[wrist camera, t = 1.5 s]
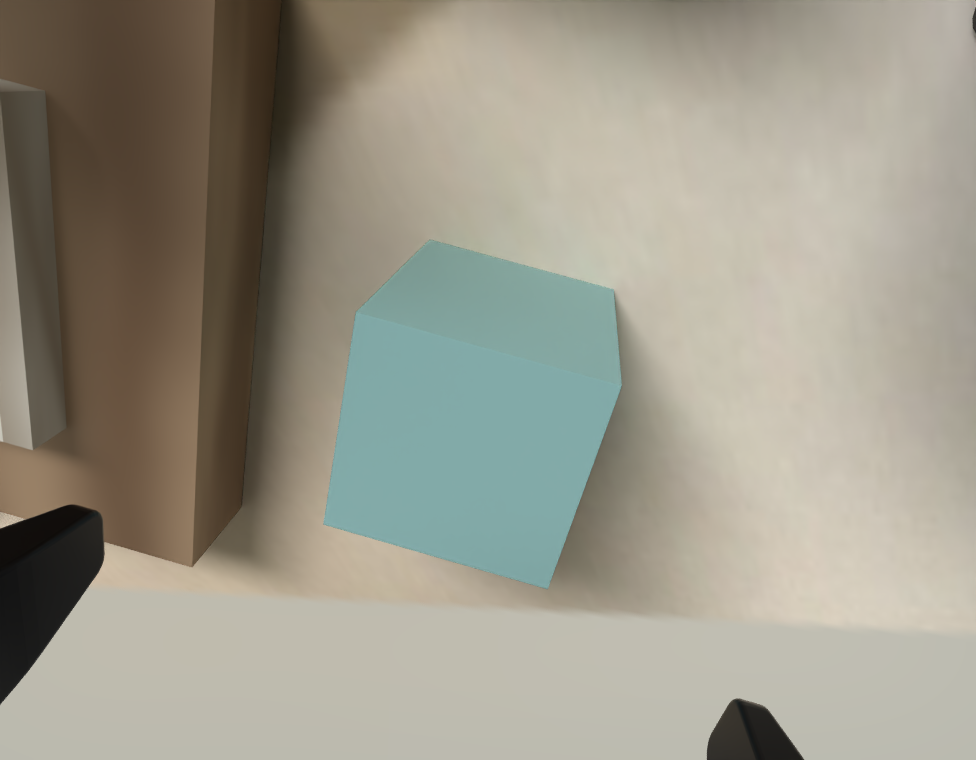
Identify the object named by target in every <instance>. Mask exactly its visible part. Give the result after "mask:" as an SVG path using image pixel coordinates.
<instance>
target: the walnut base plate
mask: <svg viewBox="0 0 976 760" xmlns="http://www.w3.org/2000/svg"><path fill="white" fill-rule="evenodd" d="M281 2H282V0H0V512H4V513H7V514H11V515H14V516H17V517H21V518H24V519H28V518H31V517H34V516H37V515H40V514H42V513H45V512H48V511H51V510H54V509H56V508H59V507H62V506H65V505H70V504H76V505H80V506H83V507H86V508H90V509H93V510H97V511H98V512H100V514H101V515H102V517H103V528H104V542H107V543H110V544H114V545H117V546H121V547H124V548H127V549H131V550H134V551H138V552H141V553H145V554H148V555H151V556H155V557H158V558H162V559H165V560H169V561H172V562H176V563H179V564H182V565H186V566H189V567H193V566H194V564H195V563H196V562H197V561H198V560H199V558H200V557H201V556H202V555H203V553H204V552H205V551H206V550H207V549H208V547H209V546H210V545H211V544H212V542H213V541H214V540H215V539H216V538H217V536H218V535H219V534H220V533H221V531H222V530H223V529H224V528H225V526H226V525H227V524H228V523H229V522H230V520H231V519H232V518H233V517H234V515H235V514H236V513H237V512H238V511H239V509H240V508H241V504H242V491H243V479H244V466H245V454H246V441H247V429H248V416H249V403H250V391H251V378H252V366H253V353H254V341H255V328H256V316H257V303H258V290H259V278H260V265H261V253H262V240H263V228H264V215H265V203H266V190H267V178H268V165H269V152H270V140H271V127H272V115H273V102H274V90H275V77H276V65H277V52H278V39H279V27H280V14H281Z"/></svg>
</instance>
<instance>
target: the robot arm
mask: <svg viewBox="0 0 976 760" xmlns="http://www.w3.org/2000/svg"><path fill="white" fill-rule="evenodd" d="M972 19H973V29H974V30H975V32H976V8H975V12H974V15H973V18H972ZM104 554H105V552H104V528H103V517H102V515H101V514H100V512H98V511H97V510H93V509H90V508H86V507H83V506H80V505H76V504H70V505H65V506H62V507H59V508H56V509H54V510H51V511H48V512H45V513H42V514H40V515H37V516H34V517H31V518H28V519H26V520H23V521H20V522H17V523H14V524H12V525H9V526H6V527H3V528H0V704H1V703H2V702H3V701H4V699H5V698H6V697H7V696H8V695H9V694H10V692H11V691H12V690H13V689H14V688H15V687H16V685H17V684H18V683H19V682H20V680H21V679H22V678H23V677H24V675H25V674H26V673H27V672H28V671H29V670H30V668H31V667H32V665H33V664H34V663H35V662H36V660H37V659H38V657H39V656H40V655H41V653H42V652H43V651H44V649H45V648H46V646H47V645H48V644H49V642H50V641H51V639H52V638H53V636H54V635H55V633H56V632H57V631H58V629H59V628H60V626H61V625H62V624H63V622H64V621H65V619H66V618H67V616H68V615H69V614H70V612H71V611H72V609H73V608H74V607H75V605H76V604H77V602H78V601H79V599H80V598H81V596H82V595H83V594H84V592H85V591H86V589H87V588H88V587H89V585H90V584H91V582H92V581H93V580H94V578H95V577H96V575H97V574H98V572H99V570H100V568H101V566H102V564H103V561H104ZM707 760H804V759H803V757H802V756H801V754H800V753H799V752H798V750H797V749H796V747H795V746H794V745H793V743H792V742H791V740H790V739H789V738H788V737H787V735H786V733H785V732H784V731H783V729H782V728H781V727H780V725H779V724H778V722H777V721H776V720H775V718H774V717H773V716H772V714H771V713H770V712H769V710H768V709H766V708H765V707H764V706H762V705H760V704H756V703H753V702H749V701H746V700H742V699H734V700H732V701H731V702H730V703H729V705H728V706H727V708H726V710H725V711H724V713H723V715H722V716H721V718H720V720H719V722H718V723H717V725H716V727H715V728H714V730H713V732H712V733H711V736H710V738H709V742H708V748H707Z"/></svg>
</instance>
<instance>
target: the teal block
mask: <svg viewBox="0 0 976 760" xmlns="http://www.w3.org/2000/svg"><path fill="white" fill-rule="evenodd" d="M621 387H622V382H621V370H620V358H619V346H618V334H617V322H616V311H615V299H614V290H613V289H610V288H606V287H602V286H599V285H595V284H591V283H588V282H584V281H580V280H577V279H573V278H569V277H566V276H562V275H558V274H555V273H551V272H547V271H544V270H540V269H536V268H533V267H529V266H525V265H521V264H518V263H514V262H510V261H507V260H503V259H499V258H496V257H492V256H488V255H485V254H481V253H477V252H474V251H470V250H466V249H463V248H459V247H455V246H452V245H448V244H444V243H440V242H437V241H433V240H429V241H428V242H427V243H426V244H425V245H424V246H423V247H422V248H421V249H420V250H419V251H418V252H417V253H416V254H415V255H414V256H413V257H411V258H410V259H409V260H408V261H407V262H406V263H405V264H404V265H403V266H402V267H401V268H400V269H399V270H398V271H397V272H396V273H395V274H394V275H393V276H392V277H391V278H390V279H389V280H388V281H387V282H386V283H385V284H384V285H383V286H382V287H381V288H380V289H379V290H378V291H377V292H376V293H375V294H374V295H373V296H372V297H371V298H370V299H369V300H368V301H367V302H366V303H365V304H364V305H363V306H362V307H361V308H360V309H359V310H358V311H357V312H356V315H355V322H354V328H353V335H352V341H351V348H350V354H349V361H348V367H347V374H346V380H345V387H344V394H343V400H342V407H341V413H340V420H339V426H338V433H337V439H336V446H335V452H334V459H333V466H332V472H331V479H330V485H329V492H328V498H327V505H326V511H325V518H324V525H327V526H331V527H334V528H337V529H341V530H344V531H348V532H351V533H355V534H358V535H362V536H365V537H369V538H372V539H376V540H379V541H382V542H386V543H389V544H393V545H396V546H400V547H403V548H407V549H410V550H414V551H417V552H421V553H424V554H427V555H431V556H434V557H438V558H441V559H445V560H448V561H452V562H455V563H459V564H462V565H465V566H469V567H472V568H476V569H479V570H483V571H486V572H490V573H493V574H497V575H500V576H504V577H507V578H510V579H514V580H517V581H521V582H524V583H528V584H531V585H535V586H538V587H542V588H545V589H548V587H549V584H550V581H551V579H552V576H553V573H554V570H555V568H556V565H557V562H558V559H559V557H560V554H561V551H562V548H563V546H564V543H565V540H566V538H567V535H568V532H569V529H570V527H571V524H572V521H573V518H574V516H575V513H576V510H577V507H578V505H579V502H580V499H581V496H582V494H583V491H584V488H585V485H586V483H587V480H588V477H589V474H590V472H591V469H592V466H593V464H594V461H595V458H596V455H597V453H598V450H599V447H600V444H601V442H602V439H603V436H604V433H605V431H606V428H607V425H608V422H609V420H610V417H611V414H612V411H613V409H614V406H615V403H616V400H617V398H618V395H619V392H620V390H621Z"/></svg>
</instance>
